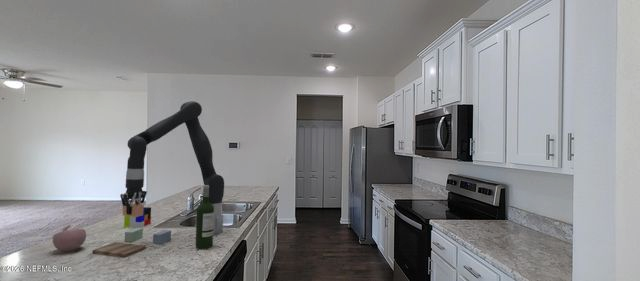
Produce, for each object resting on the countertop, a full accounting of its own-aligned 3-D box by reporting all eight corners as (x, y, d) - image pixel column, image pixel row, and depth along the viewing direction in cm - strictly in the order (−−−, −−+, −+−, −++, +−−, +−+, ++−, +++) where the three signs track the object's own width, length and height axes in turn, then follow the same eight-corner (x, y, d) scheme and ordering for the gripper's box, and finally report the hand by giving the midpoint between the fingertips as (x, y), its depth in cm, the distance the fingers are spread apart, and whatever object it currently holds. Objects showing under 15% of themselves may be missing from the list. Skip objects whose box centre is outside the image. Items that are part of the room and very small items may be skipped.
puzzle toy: (140, 228, 183) (141, 210, 183) (124, 227, 183) (124, 210, 183) (150, 223, 193) (151, 207, 193) (134, 223, 193) (135, 206, 193)
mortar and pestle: (81, 244, 151) (82, 220, 151) (89, 250, 144) (90, 225, 144) (49, 250, 142) (50, 225, 142) (55, 257, 134) (56, 230, 134)
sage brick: (135, 237, 165) (135, 227, 165) (142, 237, 165) (142, 228, 165) (124, 241, 157) (124, 232, 157) (132, 242, 157) (132, 232, 157)
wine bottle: (207, 250, 149) (209, 187, 149) (192, 248, 150) (194, 186, 151) (215, 244, 156) (217, 184, 157) (201, 243, 158) (203, 184, 158)
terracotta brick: (143, 215, 152) (143, 204, 152) (136, 216, 148) (137, 206, 148) (129, 213, 153) (129, 203, 154) (122, 215, 149) (123, 204, 150)
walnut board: (145, 248, 148) (145, 245, 148) (124, 257, 136) (124, 254, 136) (115, 245, 152) (115, 242, 152) (92, 253, 140) (92, 250, 140)
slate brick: (164, 239, 163) (164, 229, 163) (170, 240, 162) (171, 230, 162) (152, 244, 155) (153, 234, 155) (159, 245, 154) (160, 234, 154)
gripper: (129, 179, 143) (127, 217, 143) (152, 177, 157) (150, 211, 157) (115, 178, 145) (113, 215, 144) (140, 176, 159) (138, 210, 158)
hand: (133, 213), depth 150 cm, fingers closed on terracotta brick, 4 cm apart
